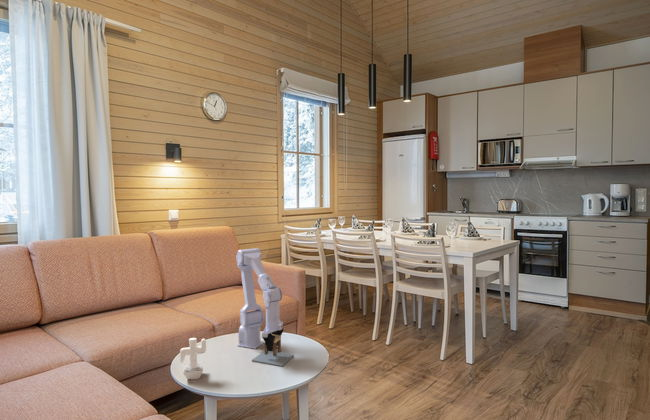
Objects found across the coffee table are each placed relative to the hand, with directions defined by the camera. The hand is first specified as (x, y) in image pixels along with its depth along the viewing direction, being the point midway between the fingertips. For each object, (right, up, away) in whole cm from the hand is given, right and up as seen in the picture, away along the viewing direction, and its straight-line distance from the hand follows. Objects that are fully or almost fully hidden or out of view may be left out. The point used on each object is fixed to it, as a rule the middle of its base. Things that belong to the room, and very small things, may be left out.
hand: (273, 348), depth 176 cm
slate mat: (0, -5, 0) cm, 5 cm away
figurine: (-29, -6, -15) cm, 33 cm away
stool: (0, -2, 0) cm, 2 cm away
